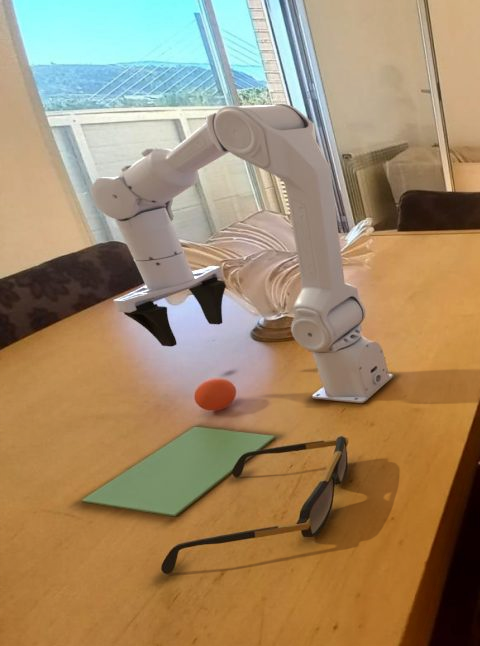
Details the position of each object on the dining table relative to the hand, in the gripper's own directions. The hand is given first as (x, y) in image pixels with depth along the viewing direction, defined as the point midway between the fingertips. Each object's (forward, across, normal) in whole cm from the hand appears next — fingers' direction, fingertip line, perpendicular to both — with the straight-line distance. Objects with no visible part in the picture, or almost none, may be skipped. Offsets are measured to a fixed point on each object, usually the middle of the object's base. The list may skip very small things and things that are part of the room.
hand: (193, 333), depth 78 cm
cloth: (+10, +18, +16) cm, 25 cm away
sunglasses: (+10, +21, +34) cm, 41 cm away
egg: (+7, +6, +8) cm, 12 cm away
